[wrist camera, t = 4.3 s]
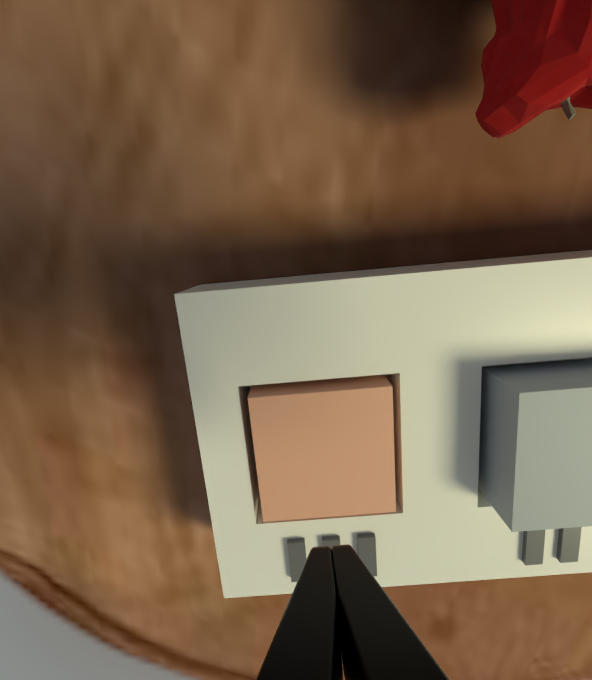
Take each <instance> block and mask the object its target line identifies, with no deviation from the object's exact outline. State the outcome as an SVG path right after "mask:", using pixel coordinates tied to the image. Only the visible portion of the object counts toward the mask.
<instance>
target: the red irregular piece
mask: <svg viewBox="0 0 592 680" xmlns="http://www.w3.org/2000/svg"><path fill="white" fill-rule="evenodd" d="M492 6H493V12H494V17H495V23H496V33H495V36H494V37H493V38H492V40H491V41H490V42H489V44H488V45H487V46H486V47H485V49H484V50H483V55H482V64H481V67H482V73H483V79H484V92H483V98H482V101H481V103H480V105H479V107H478V109H477V111H476V117H477V120H478V123H479V124H480V126H481V127H482V129H483V130H485V131H486V132H487V133H488V134H490V135H491V136H492V137H497V138H500V137H503V136H505V135H508V134H510V133H512V132H515V131H516V130H518V129H519V128H520V127H522V126H523V125H525V124H526V123H528V122H529V121H531V120H532V119H533V118H535V117H536V116H538V115H539V114H541V113H542V112H544V111H545V110H549V109H554V108H560V107H562V108H563V110H564V112H565V114H566V116H567V118H568V119H569V120H570V119H571V118H573V117H574V116H575V114H576V111H575V109H574V108H573V107H581V108H589V109H592V0H492Z"/></svg>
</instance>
